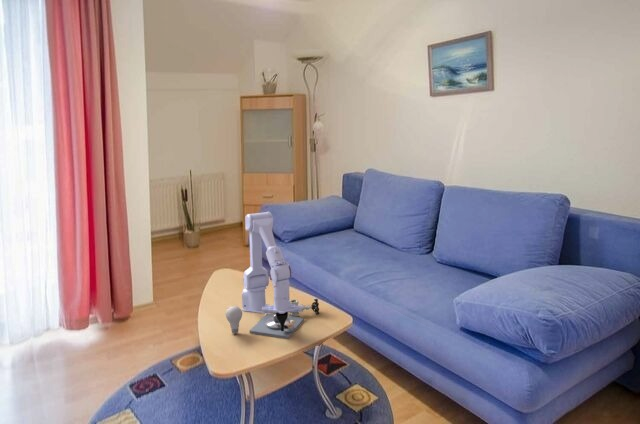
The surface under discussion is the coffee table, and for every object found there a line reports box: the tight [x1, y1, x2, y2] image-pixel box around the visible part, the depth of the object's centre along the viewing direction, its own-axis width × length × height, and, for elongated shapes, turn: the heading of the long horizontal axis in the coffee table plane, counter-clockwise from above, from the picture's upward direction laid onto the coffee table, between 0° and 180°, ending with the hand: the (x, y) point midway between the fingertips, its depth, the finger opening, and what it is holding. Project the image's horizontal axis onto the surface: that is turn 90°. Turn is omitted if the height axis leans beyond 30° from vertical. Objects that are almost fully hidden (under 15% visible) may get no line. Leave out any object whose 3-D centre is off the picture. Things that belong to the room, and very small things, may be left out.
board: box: [249, 313, 305, 340], centre depth 176 cm, size 16×16×4 cm
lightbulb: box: [225, 305, 243, 335], centre depth 170 cm, size 6×6×11 cm
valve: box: [288, 298, 320, 317], centre depth 186 cm, size 7×7×12 cm
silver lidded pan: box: [266, 313, 293, 333], centre depth 174 cm, size 14×9×4 cm, turn 39°
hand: (282, 330), depth 170 cm, fingers closed, pressing on silver lidded pan
